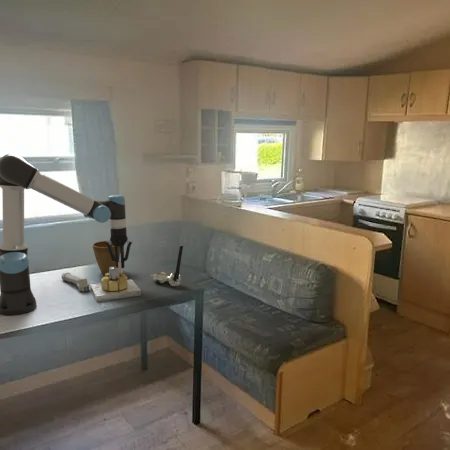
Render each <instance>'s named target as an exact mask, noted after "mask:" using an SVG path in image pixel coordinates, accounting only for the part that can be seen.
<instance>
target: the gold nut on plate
mask: <svg viewBox="0 0 450 450" xmlns="http://www.w3.org/2000/svg"><path fill="white" fill-rule="evenodd" d="M109 276H110V281H117V280H118V277H119V267H116V266H114V267H110V268H109ZM89 285H90V286H89V291H91V293H92V296H93V298H94V300H95V302H103V301H104V302H105V301H110V300H111V301H112V300H118V299H125V298H131V297H139V296H141V295H142V294H141V293H142V292H141V291H142V290H141V289H140V288H139V286H138V285H137V283H135V282H134V280H133V279H128V286H127V288H125V289H122V290H118V291H107V290H103V289H102V286H101V282H99V283H93V284H89Z"/></svg>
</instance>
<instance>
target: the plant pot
mask: <svg viewBox="0 0 450 450" xmlns="http://www.w3.org/2000/svg"><path fill="white" fill-rule="evenodd" d="M107 241H108V240H101V241H96V242H94V243H92V248H93V252H94V253H93V254H94V257H95V260H96V263H97V266H98V268H99V270H100V272H101V274H102V275H105V274H107V273H109V268H110V267H114V266H116V262H115V261H112V258H111V255H110V252H109V249H108V246H107V245H106V242H107ZM111 245H112V248H113V251H114V255H115V246H114V245H113V243H112V242H111ZM119 259H121V254H120V246H119Z"/></svg>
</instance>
